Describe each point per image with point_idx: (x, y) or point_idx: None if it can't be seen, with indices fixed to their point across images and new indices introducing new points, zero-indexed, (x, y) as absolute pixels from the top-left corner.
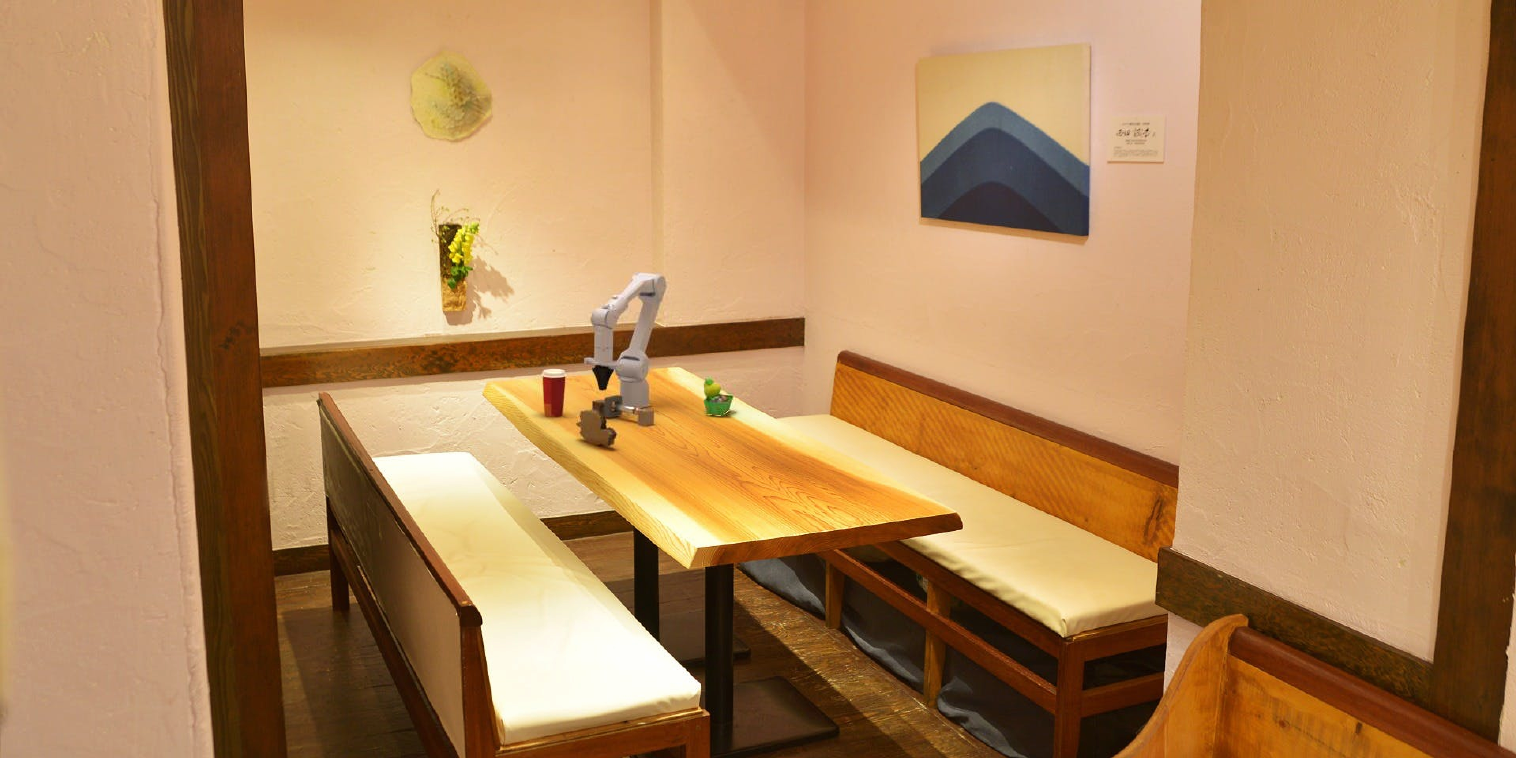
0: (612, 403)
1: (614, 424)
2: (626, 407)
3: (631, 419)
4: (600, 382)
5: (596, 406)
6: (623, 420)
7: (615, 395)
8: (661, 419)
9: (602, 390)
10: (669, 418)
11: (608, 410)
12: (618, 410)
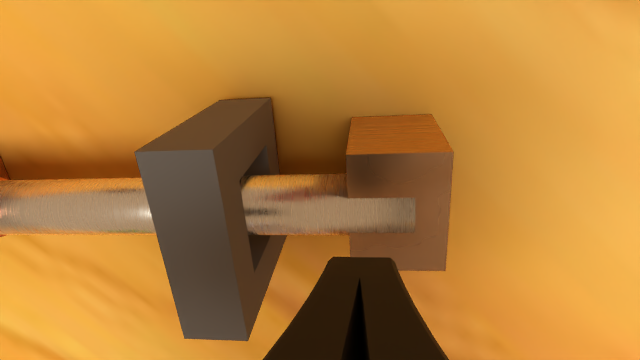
0: None
1: (64, 6)
2: (47, 197)
3: None
4: (327, 330)
5: (388, 139)
6: None
7: (242, 314)
8: (62, 319)
9: (329, 263)
10: (64, 356)
11: (201, 113)
12: None
